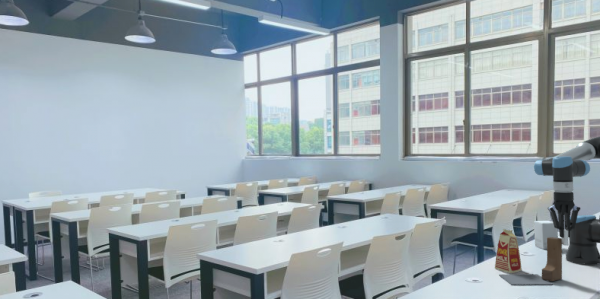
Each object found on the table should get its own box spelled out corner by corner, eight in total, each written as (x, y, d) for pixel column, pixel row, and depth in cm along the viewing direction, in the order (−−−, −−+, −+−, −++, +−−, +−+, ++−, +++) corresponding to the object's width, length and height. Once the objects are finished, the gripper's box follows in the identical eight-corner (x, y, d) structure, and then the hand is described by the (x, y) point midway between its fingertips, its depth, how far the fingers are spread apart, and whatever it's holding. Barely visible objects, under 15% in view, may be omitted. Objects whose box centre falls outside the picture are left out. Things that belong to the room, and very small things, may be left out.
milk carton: (510, 273, 198) (509, 230, 198) (493, 268, 206) (492, 227, 207) (523, 270, 202) (521, 228, 203) (506, 265, 211) (504, 225, 211)
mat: (537, 275, 194) (537, 274, 194) (552, 285, 180) (552, 283, 180) (499, 275, 195) (499, 274, 195) (511, 285, 181) (511, 284, 181)
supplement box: (559, 249, 240) (558, 222, 240) (543, 249, 240) (542, 223, 240) (549, 245, 249) (548, 220, 249) (534, 246, 249) (533, 220, 249)
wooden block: (552, 281, 182) (552, 239, 183) (541, 279, 186) (541, 238, 187) (562, 279, 187) (562, 238, 188) (551, 276, 191) (551, 236, 192)
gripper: (552, 192, 183) (553, 246, 183) (583, 191, 182) (585, 246, 181) (543, 190, 190) (545, 243, 190) (574, 190, 189) (575, 242, 189)
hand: (565, 244), depth 186 cm, fingers closed
